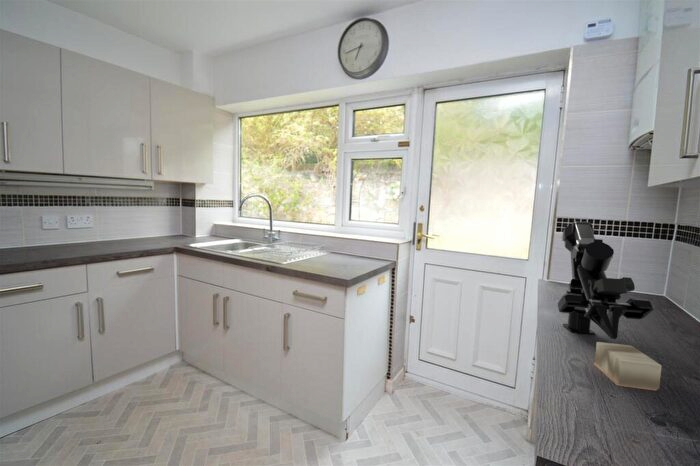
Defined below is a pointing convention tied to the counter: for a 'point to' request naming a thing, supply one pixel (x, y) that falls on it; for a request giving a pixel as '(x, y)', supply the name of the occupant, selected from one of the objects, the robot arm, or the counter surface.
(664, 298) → the counter surface
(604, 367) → the birch block
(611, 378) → the pad
